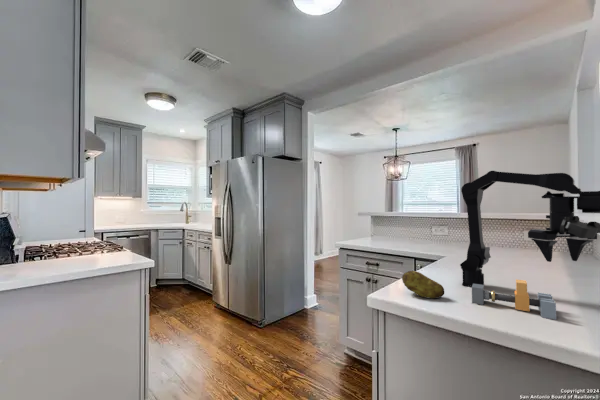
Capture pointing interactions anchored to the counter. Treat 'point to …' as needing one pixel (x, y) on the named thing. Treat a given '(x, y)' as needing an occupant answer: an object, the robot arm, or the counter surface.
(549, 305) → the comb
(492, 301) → the band
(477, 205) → the robot arm
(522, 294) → the sleeve
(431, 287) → the potato
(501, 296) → the black rod
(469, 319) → the counter surface
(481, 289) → the connector
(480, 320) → the counter surface
